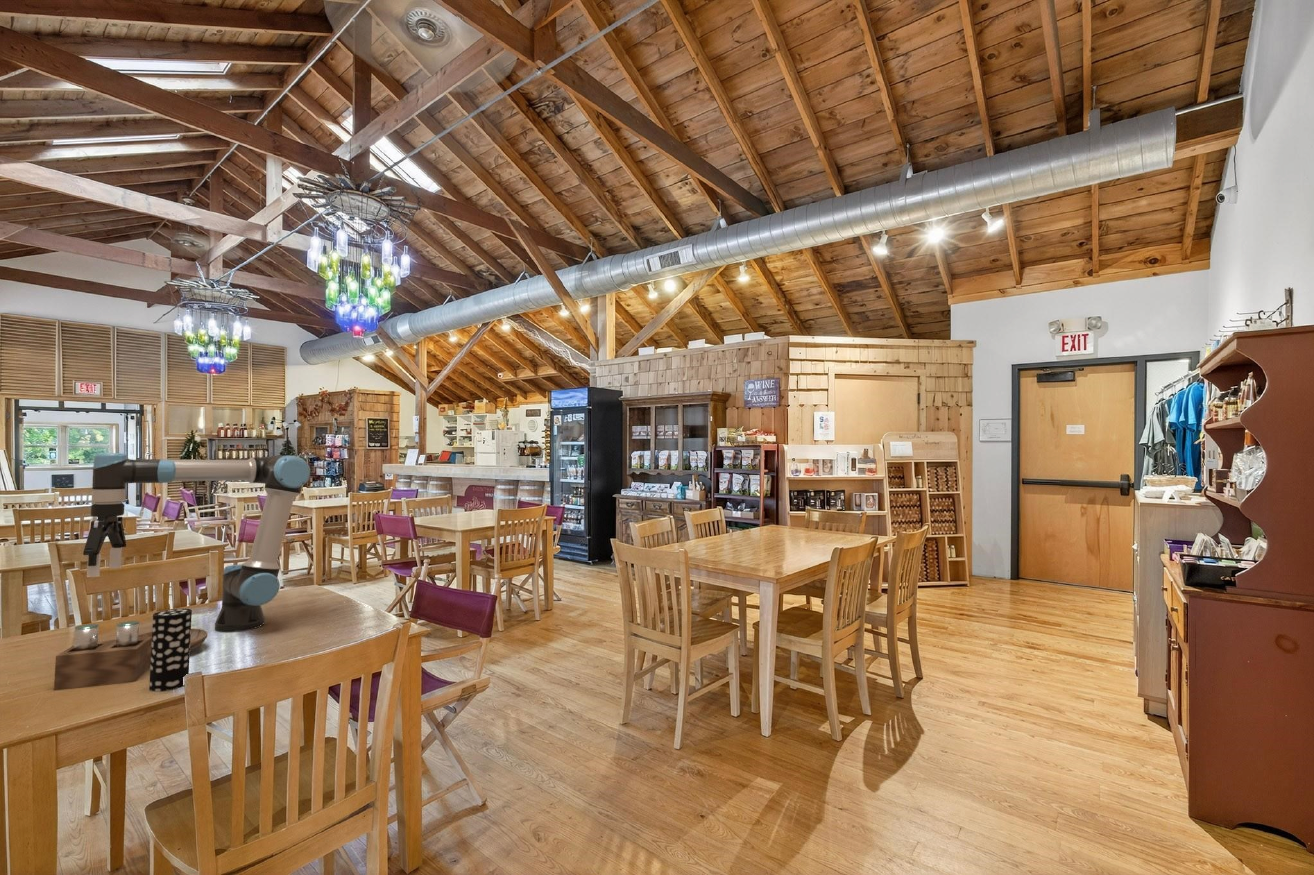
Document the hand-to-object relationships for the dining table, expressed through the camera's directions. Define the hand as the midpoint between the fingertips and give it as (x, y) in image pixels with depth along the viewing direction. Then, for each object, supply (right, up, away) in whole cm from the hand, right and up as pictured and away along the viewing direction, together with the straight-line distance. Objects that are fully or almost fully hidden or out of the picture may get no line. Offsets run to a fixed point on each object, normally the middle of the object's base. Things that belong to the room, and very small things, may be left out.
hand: (104, 572), depth 180 cm
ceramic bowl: (+11, -28, +8) cm, 31 cm away
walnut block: (+13, -27, -14) cm, 33 cm away
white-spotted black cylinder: (+35, -27, -18) cm, 48 cm away
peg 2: (+17, -20, -11) cm, 29 cm away
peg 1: (+9, -20, -15) cm, 27 cm away
